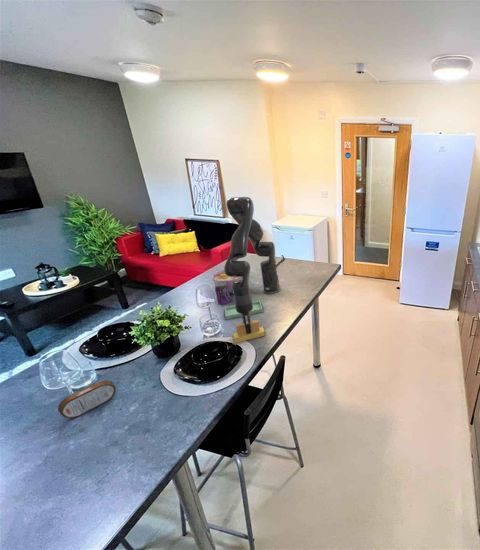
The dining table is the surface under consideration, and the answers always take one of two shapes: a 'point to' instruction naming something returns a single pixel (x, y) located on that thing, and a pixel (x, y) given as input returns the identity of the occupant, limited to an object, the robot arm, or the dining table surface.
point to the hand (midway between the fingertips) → (248, 331)
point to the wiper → (242, 334)
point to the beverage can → (222, 292)
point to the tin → (86, 399)
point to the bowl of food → (224, 279)
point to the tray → (232, 313)
